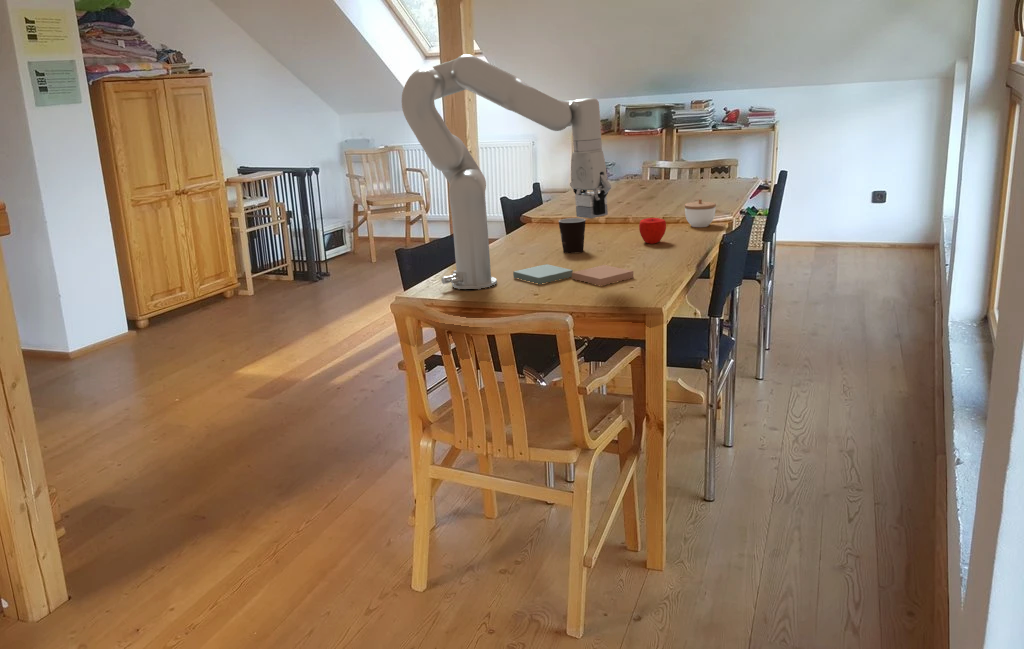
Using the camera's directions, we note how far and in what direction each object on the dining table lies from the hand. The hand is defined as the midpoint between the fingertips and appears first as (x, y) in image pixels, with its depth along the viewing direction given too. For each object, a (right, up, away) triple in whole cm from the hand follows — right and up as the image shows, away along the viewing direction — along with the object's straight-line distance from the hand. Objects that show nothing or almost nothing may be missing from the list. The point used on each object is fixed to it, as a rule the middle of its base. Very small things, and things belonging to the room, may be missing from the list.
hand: (591, 212), depth 234 cm
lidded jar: (+45, +4, +71) cm, 84 cm away
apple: (+24, -4, +48) cm, 54 cm away
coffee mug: (-1, -7, +44) cm, 44 cm away
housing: (0, -1, 0) cm, 1 cm away
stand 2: (+3, -18, +4) cm, 18 cm away
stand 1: (-13, -17, +10) cm, 24 cm away
